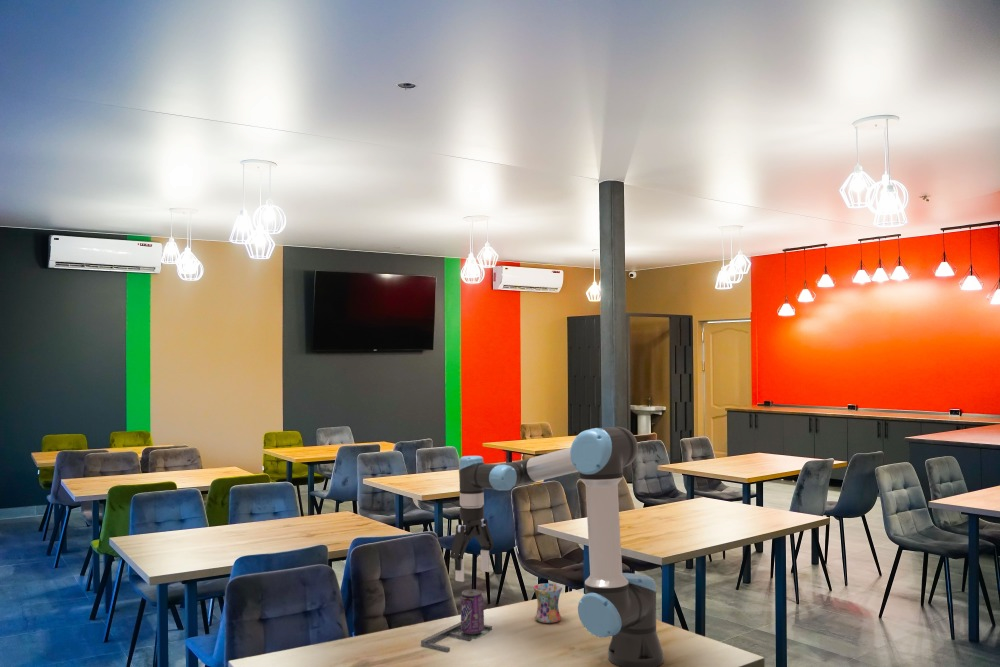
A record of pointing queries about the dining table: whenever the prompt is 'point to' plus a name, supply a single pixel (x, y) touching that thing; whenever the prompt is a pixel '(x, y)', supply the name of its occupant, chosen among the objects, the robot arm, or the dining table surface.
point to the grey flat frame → (451, 633)
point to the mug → (547, 602)
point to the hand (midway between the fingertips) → (472, 576)
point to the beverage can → (472, 612)
